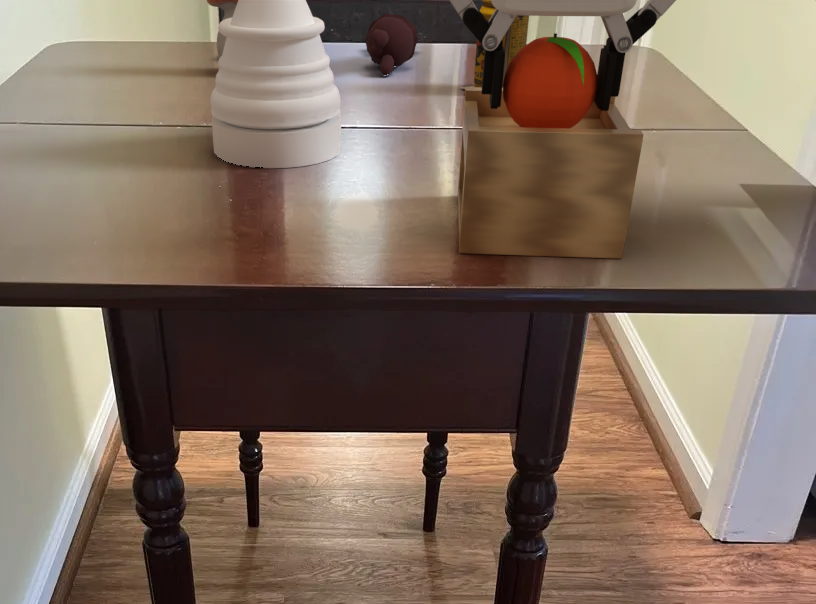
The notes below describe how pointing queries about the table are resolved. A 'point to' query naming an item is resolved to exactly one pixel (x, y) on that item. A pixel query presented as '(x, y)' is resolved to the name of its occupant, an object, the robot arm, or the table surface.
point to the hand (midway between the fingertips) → (547, 104)
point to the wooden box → (545, 183)
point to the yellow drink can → (511, 41)
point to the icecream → (391, 41)
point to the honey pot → (275, 88)
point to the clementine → (550, 84)
